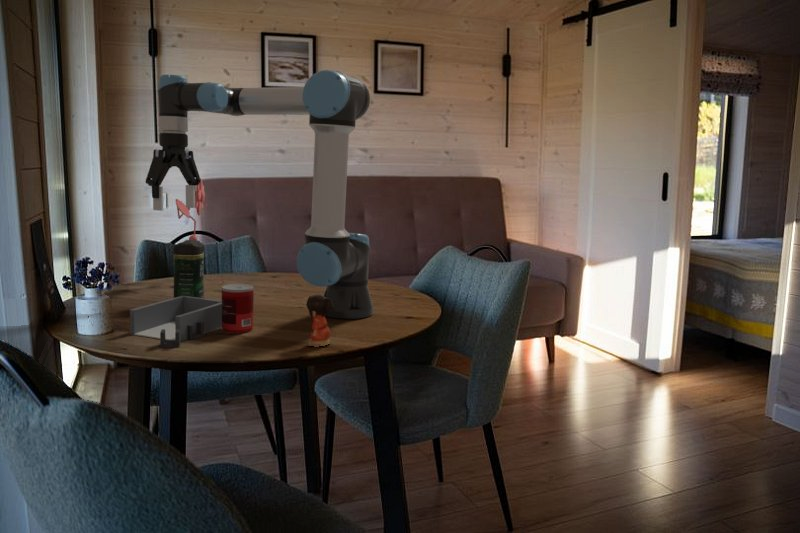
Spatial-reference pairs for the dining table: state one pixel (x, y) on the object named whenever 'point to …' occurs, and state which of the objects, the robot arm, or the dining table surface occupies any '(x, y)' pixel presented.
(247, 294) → the canned food
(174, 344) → the clip
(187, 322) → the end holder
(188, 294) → the coffee jar
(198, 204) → the pink flower
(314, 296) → the figurine
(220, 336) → the dining table surface
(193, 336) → the clip
